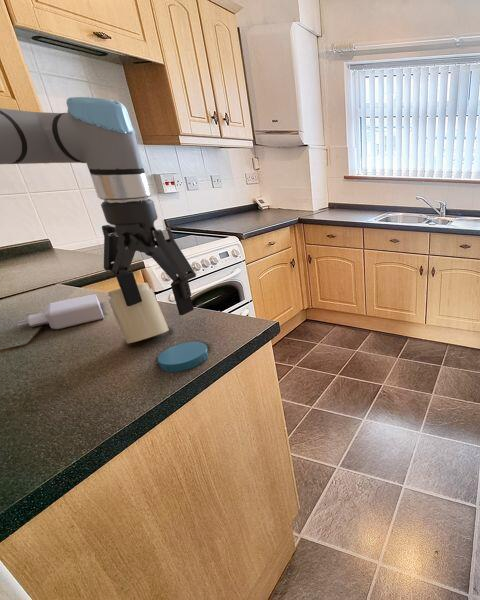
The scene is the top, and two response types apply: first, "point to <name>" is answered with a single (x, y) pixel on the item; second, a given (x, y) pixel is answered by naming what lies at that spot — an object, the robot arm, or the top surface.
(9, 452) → the top surface
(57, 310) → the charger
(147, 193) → the robot arm
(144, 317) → the jar
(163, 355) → the lid
